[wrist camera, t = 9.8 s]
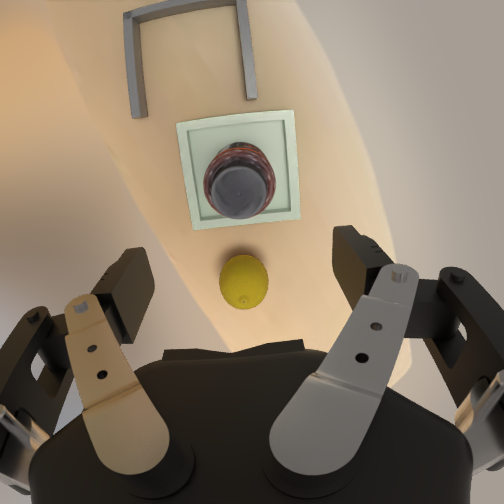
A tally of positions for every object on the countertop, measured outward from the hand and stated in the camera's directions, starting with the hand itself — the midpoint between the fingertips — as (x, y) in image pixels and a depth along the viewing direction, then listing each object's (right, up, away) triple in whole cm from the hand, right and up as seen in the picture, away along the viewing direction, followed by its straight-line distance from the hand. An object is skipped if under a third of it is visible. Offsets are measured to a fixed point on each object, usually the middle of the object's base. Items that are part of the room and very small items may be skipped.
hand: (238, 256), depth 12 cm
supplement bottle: (-1, +9, +19) cm, 21 cm away
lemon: (-1, -1, +25) cm, 25 cm away
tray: (-1, +9, +19) cm, 21 cm away
